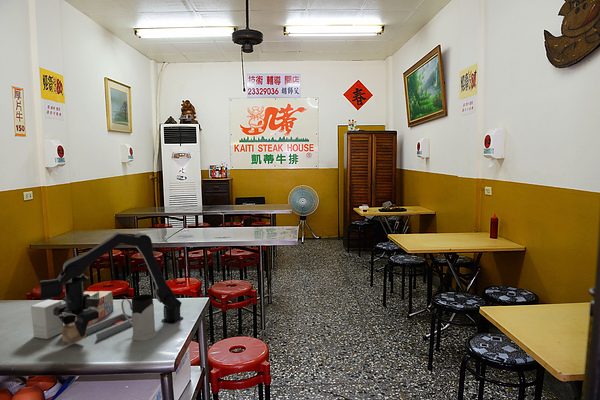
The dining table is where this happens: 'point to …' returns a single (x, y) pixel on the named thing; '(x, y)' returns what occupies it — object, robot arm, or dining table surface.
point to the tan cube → (71, 333)
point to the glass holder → (142, 317)
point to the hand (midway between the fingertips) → (77, 334)
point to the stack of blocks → (101, 304)
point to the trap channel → (119, 325)
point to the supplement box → (46, 319)
